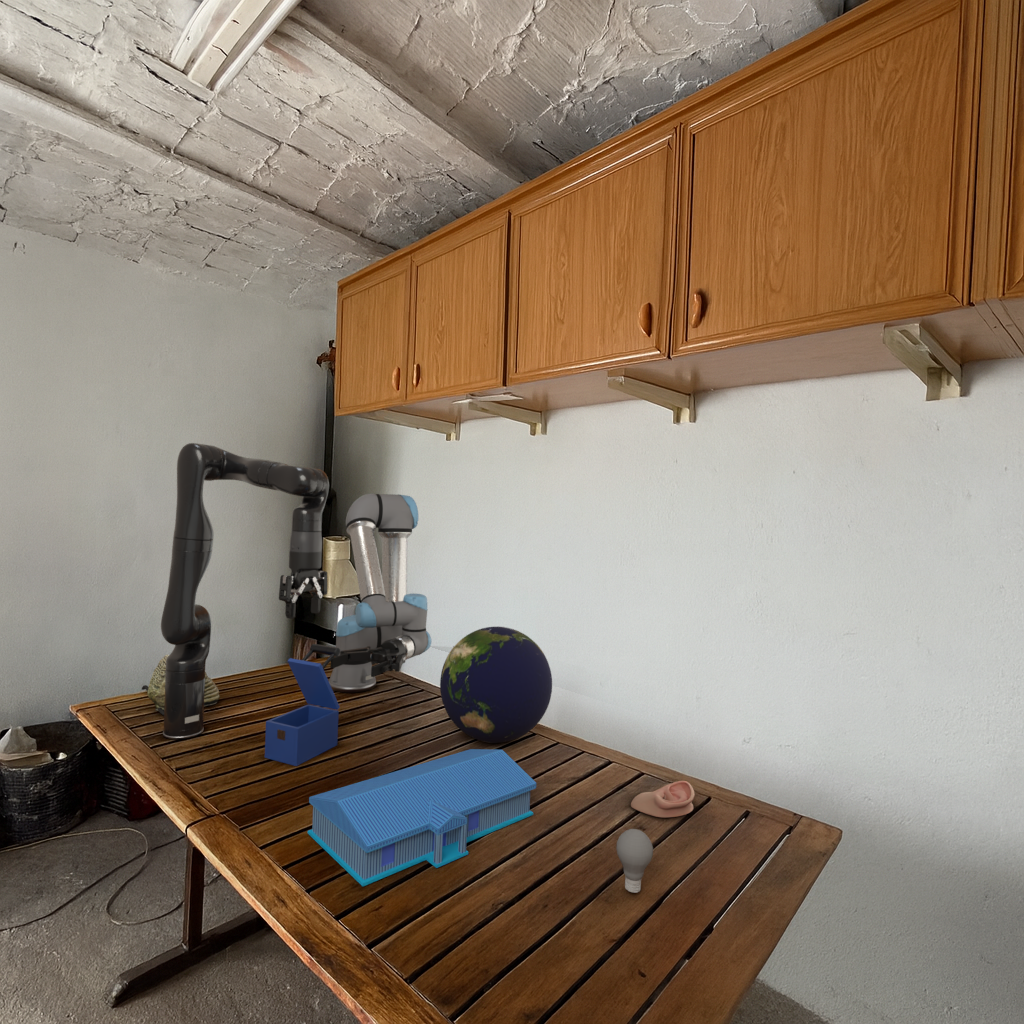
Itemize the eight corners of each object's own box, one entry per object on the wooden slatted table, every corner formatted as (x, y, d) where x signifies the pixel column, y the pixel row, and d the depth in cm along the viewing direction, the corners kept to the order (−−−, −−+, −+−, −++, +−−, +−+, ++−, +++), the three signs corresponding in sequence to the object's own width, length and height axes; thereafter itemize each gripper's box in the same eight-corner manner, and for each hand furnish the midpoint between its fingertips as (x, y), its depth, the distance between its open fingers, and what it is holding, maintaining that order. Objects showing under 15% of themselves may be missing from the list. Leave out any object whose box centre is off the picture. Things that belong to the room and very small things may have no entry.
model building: (372, 896, 101) (375, 834, 101) (306, 832, 119) (308, 779, 119) (545, 820, 127) (547, 771, 127) (469, 777, 146) (471, 734, 145)
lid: (318, 666, 154) (339, 641, 160) (287, 660, 157) (309, 636, 164) (337, 710, 161) (357, 684, 168) (307, 703, 165) (327, 678, 172)
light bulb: (610, 879, 108) (613, 822, 108) (644, 879, 109) (647, 822, 109) (619, 902, 102) (622, 840, 102) (655, 901, 103) (658, 840, 103)
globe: (416, 747, 162) (421, 630, 161) (468, 713, 189) (472, 613, 189) (525, 771, 150) (531, 645, 150) (563, 731, 178) (568, 624, 177)
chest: (296, 766, 148) (297, 728, 148) (264, 757, 152) (265, 721, 152) (337, 745, 162) (338, 710, 161) (307, 737, 165) (308, 704, 165)
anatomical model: (631, 794, 132) (632, 772, 143) (630, 813, 132) (631, 789, 143) (697, 803, 129) (693, 779, 140) (696, 822, 129) (692, 797, 141)
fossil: (144, 707, 182) (145, 655, 182) (212, 696, 194) (213, 647, 194) (151, 716, 175) (153, 662, 175) (221, 703, 188) (223, 653, 188)
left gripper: (297, 552, 146) (294, 622, 147) (337, 549, 160) (334, 613, 160) (272, 549, 149) (269, 618, 150) (313, 546, 163) (311, 609, 163)
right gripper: (431, 669, 187) (389, 689, 167) (361, 656, 197) (314, 673, 177) (432, 644, 186) (390, 661, 167) (362, 632, 196) (316, 646, 177)
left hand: (303, 615), depth 155 cm, fingers open, 8 cm apart
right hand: (351, 667), depth 172 cm, fingers open, 13 cm apart
